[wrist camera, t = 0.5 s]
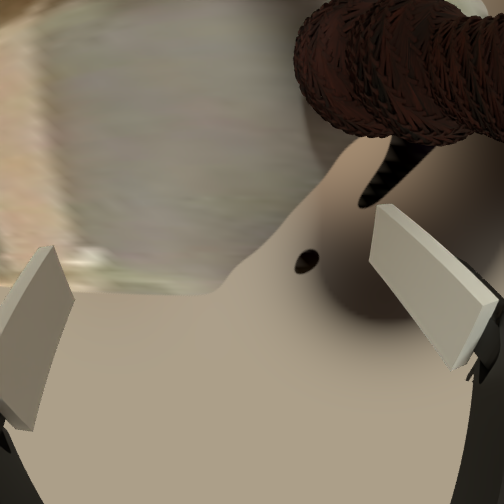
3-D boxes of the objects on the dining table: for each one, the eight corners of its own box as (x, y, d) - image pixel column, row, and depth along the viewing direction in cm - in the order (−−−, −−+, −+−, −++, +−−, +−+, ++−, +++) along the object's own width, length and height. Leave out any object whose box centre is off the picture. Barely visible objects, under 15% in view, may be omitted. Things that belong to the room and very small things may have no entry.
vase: (253, 86, 33) (427, 124, 8) (314, -15, 27) (518, -103, 2) (358, 147, 39) (551, 277, 13) (409, 55, 33) (621, 95, 7)
